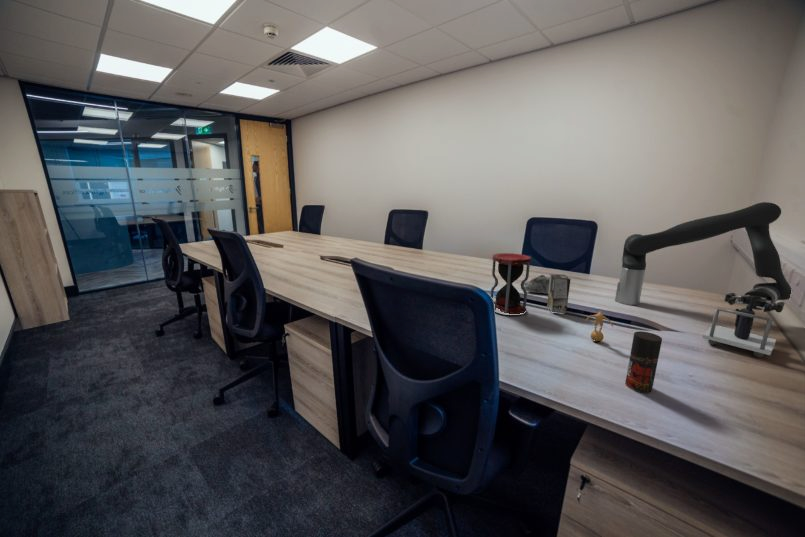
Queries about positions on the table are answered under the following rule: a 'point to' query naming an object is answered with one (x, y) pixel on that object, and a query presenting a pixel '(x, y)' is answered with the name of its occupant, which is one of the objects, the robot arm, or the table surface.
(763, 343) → the dolly
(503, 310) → the hourglass
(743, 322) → the two-way radio
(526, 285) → the mineral rock
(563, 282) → the coffee box
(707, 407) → the table surface
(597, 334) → the figurine
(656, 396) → the table surface
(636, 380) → the deodorant
